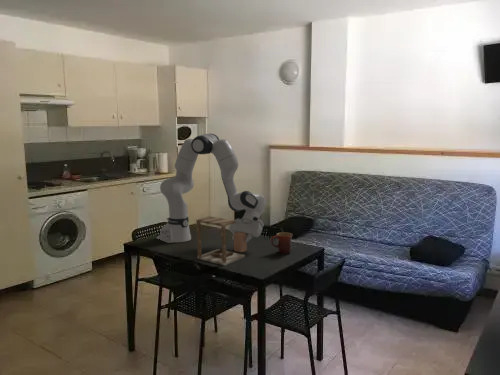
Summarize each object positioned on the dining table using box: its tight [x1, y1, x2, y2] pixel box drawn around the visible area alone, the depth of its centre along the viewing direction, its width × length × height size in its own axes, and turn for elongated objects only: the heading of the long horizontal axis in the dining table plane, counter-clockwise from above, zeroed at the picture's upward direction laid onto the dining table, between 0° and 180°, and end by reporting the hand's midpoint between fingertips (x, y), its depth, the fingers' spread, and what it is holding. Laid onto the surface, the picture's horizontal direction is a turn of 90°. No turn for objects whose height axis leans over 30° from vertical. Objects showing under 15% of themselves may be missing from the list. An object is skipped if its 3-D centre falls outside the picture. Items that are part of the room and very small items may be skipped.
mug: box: [270, 231, 293, 255], centre depth 233 cm, size 12×9×10 cm
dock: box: [195, 215, 246, 266], centre depth 225 cm, size 19×16×21 cm
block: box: [233, 232, 248, 253], centre depth 238 cm, size 5×5×10 cm
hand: (239, 240), depth 237 cm, fingers open, 8 cm apart
